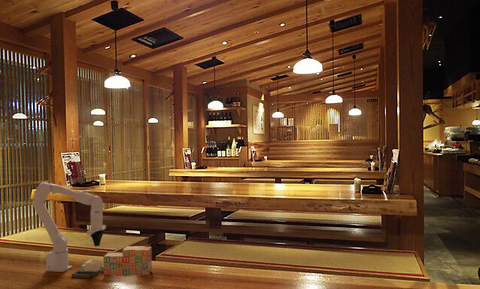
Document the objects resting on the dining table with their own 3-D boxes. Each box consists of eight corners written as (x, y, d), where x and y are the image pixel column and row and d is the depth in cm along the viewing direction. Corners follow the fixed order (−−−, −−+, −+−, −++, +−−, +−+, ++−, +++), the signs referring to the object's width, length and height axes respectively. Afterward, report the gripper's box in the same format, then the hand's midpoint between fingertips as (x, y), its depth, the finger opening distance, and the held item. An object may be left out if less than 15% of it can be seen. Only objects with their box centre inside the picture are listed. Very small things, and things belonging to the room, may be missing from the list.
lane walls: (81, 270, 185) (81, 265, 185) (92, 264, 195) (92, 259, 195) (103, 272, 183) (103, 266, 183) (114, 265, 193) (114, 260, 193)
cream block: (84, 273, 183) (84, 262, 183) (91, 269, 187) (90, 259, 187) (94, 273, 181) (94, 263, 181) (100, 270, 186) (99, 260, 186)
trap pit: (71, 277, 176) (71, 274, 176) (78, 273, 181) (78, 270, 181) (91, 278, 175) (91, 275, 175) (97, 274, 179) (97, 271, 179)
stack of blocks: (103, 276, 178) (103, 249, 178) (108, 271, 184) (108, 246, 184) (148, 275, 177) (148, 249, 177) (152, 271, 183) (151, 246, 183)
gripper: (95, 222, 188) (96, 250, 188) (111, 216, 202) (111, 242, 202) (83, 222, 189) (83, 249, 189) (98, 216, 204) (99, 242, 204)
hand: (97, 245), depth 196 cm, fingers closed
